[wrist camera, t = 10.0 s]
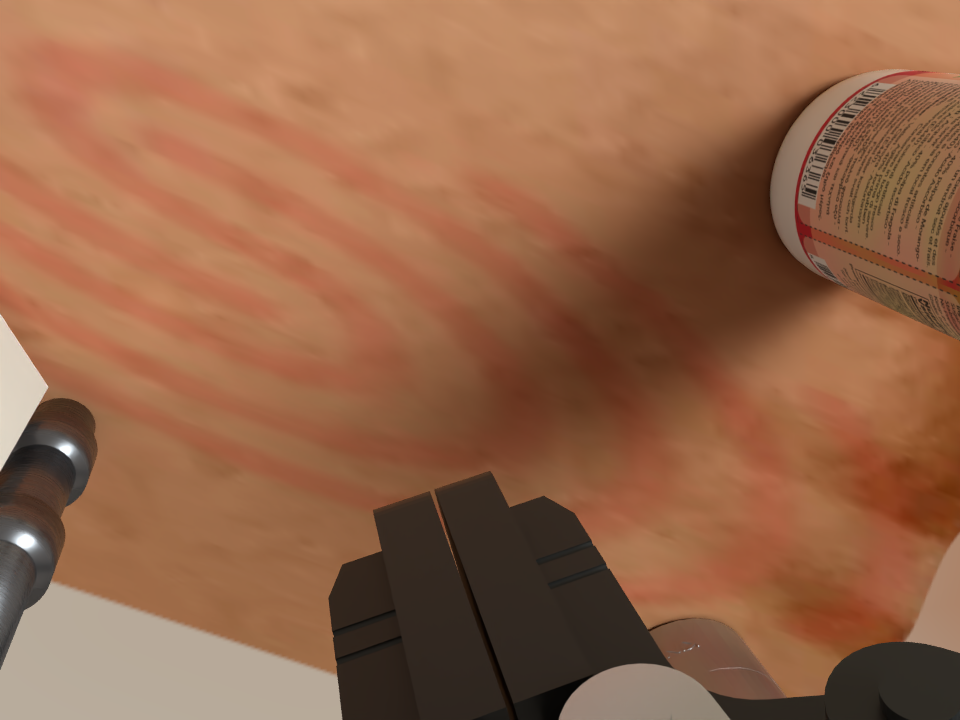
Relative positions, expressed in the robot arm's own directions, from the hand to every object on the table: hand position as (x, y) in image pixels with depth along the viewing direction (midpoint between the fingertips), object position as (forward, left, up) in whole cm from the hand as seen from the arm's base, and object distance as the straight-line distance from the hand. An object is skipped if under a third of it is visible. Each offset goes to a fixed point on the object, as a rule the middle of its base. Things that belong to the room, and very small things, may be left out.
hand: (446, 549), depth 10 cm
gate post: (-3, +14, -25) cm, 29 cm away
